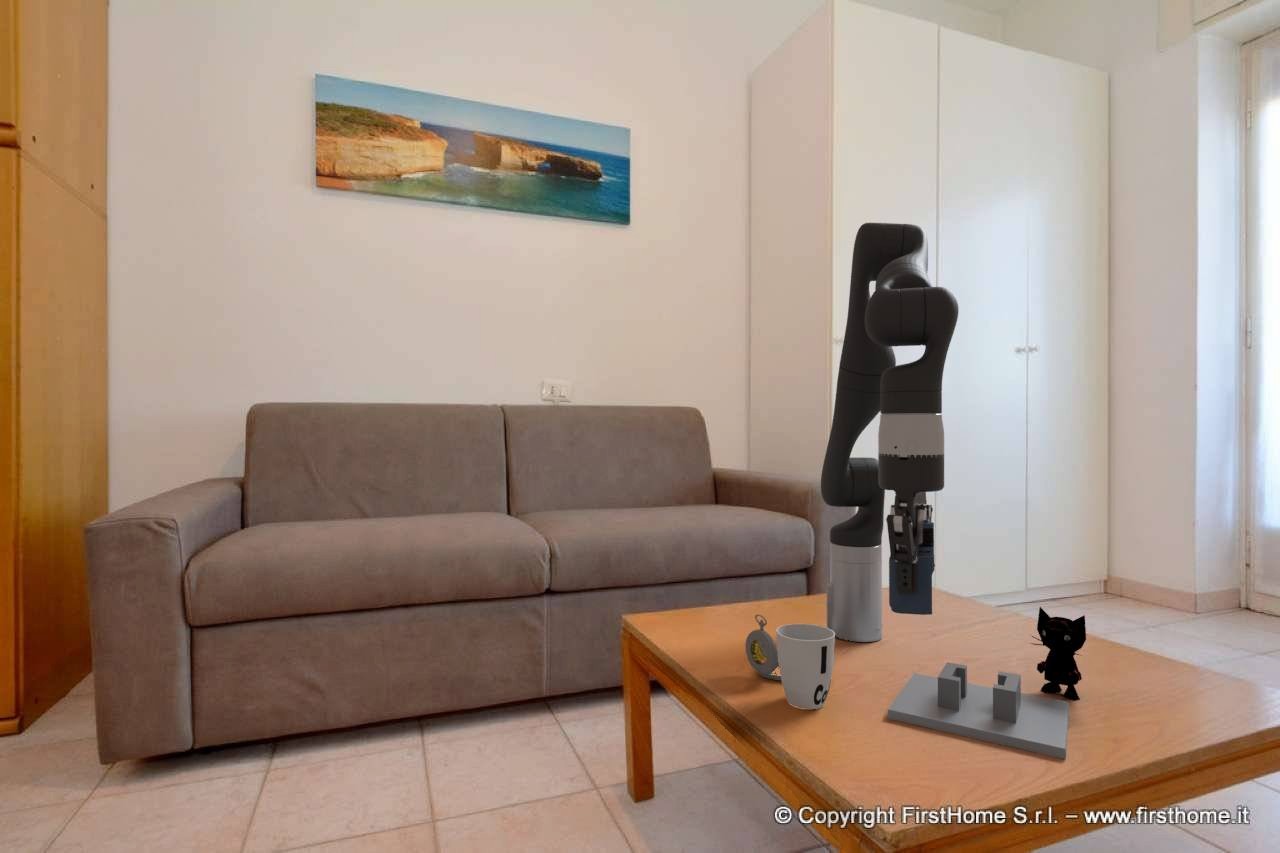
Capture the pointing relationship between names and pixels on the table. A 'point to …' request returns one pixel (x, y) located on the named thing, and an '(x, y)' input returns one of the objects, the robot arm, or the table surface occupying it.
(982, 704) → the dock
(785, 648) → the cup
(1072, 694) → the cat figurine
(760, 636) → the pocket watch
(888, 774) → the table surface
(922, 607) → the vaping device
